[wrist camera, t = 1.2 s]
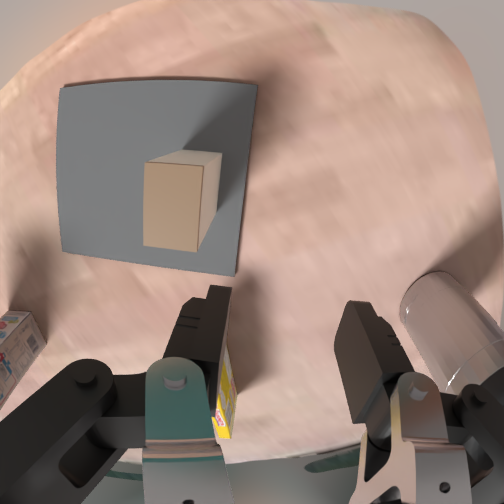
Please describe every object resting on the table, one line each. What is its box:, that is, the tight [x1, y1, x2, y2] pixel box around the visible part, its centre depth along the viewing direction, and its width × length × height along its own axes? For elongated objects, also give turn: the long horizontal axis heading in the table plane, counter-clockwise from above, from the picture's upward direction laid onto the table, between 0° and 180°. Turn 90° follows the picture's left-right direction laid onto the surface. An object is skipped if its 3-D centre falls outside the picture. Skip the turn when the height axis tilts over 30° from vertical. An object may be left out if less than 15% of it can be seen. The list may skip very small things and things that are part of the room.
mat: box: [56, 80, 258, 277], centre depth 29 cm, size 22×20×1 cm
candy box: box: [212, 344, 237, 438], centre depth 35 cm, size 16×2×8 cm, turn 6°
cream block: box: [143, 150, 222, 252], centre depth 24 cm, size 4×6×10 cm, turn 173°
